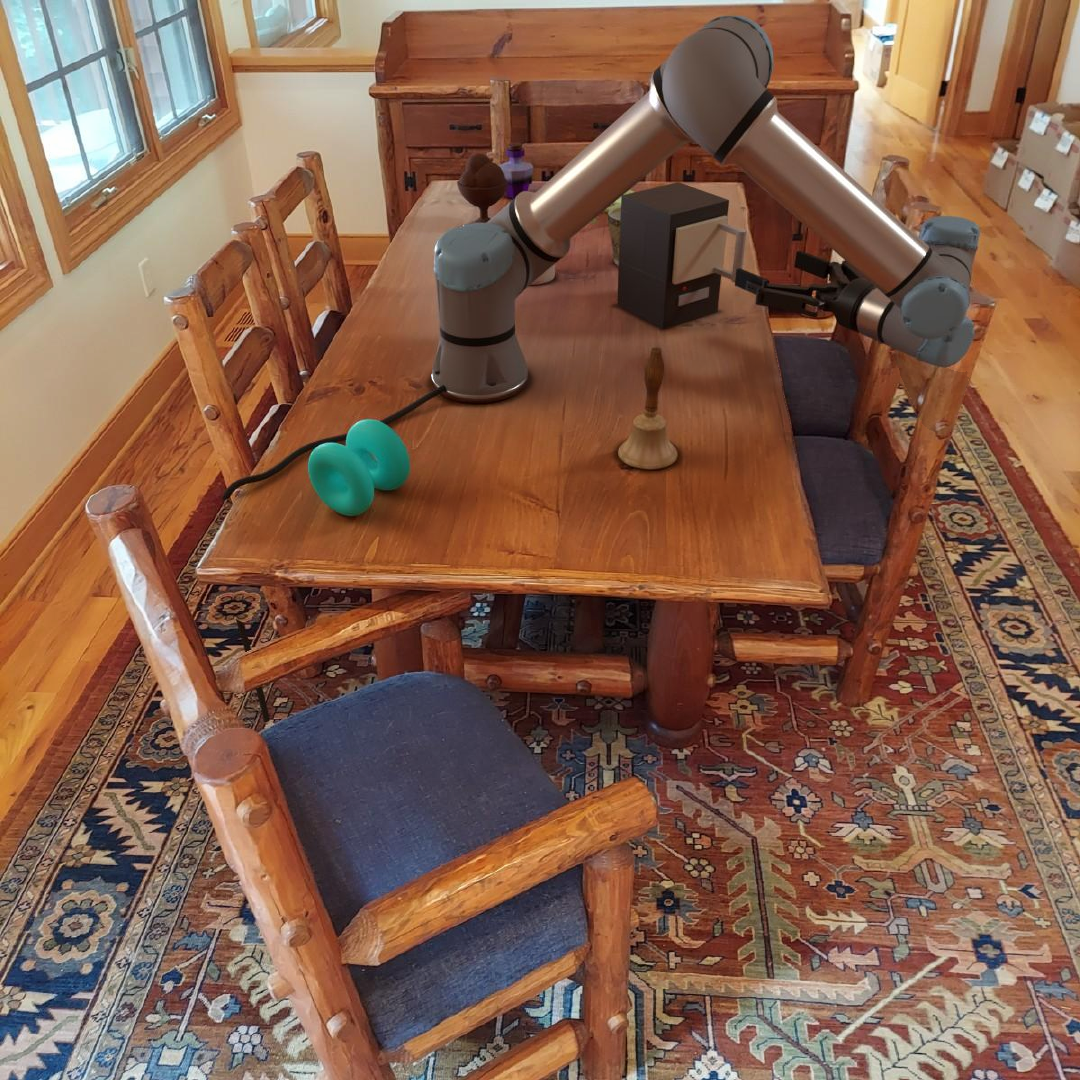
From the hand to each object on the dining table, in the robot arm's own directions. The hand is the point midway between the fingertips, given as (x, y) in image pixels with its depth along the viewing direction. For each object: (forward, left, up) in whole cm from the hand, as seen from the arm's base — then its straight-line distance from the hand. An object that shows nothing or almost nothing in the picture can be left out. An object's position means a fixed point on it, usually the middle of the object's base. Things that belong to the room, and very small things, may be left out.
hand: (767, 267), depth 156 cm
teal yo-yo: (-69, +34, -13) cm, 78 cm away
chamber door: (+1, +10, -4) cm, 11 cm away
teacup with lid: (+10, +49, -13) cm, 52 cm away
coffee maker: (+6, +19, -13) cm, 24 cm away
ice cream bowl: (+34, +71, -13) cm, 80 cm away
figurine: (+49, +45, -13) cm, 68 cm away
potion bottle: (+56, +74, -13) cm, 94 cm away
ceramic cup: (+27, +33, -13) cm, 45 cm away
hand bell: (-43, +4, -13) cm, 45 cm away
